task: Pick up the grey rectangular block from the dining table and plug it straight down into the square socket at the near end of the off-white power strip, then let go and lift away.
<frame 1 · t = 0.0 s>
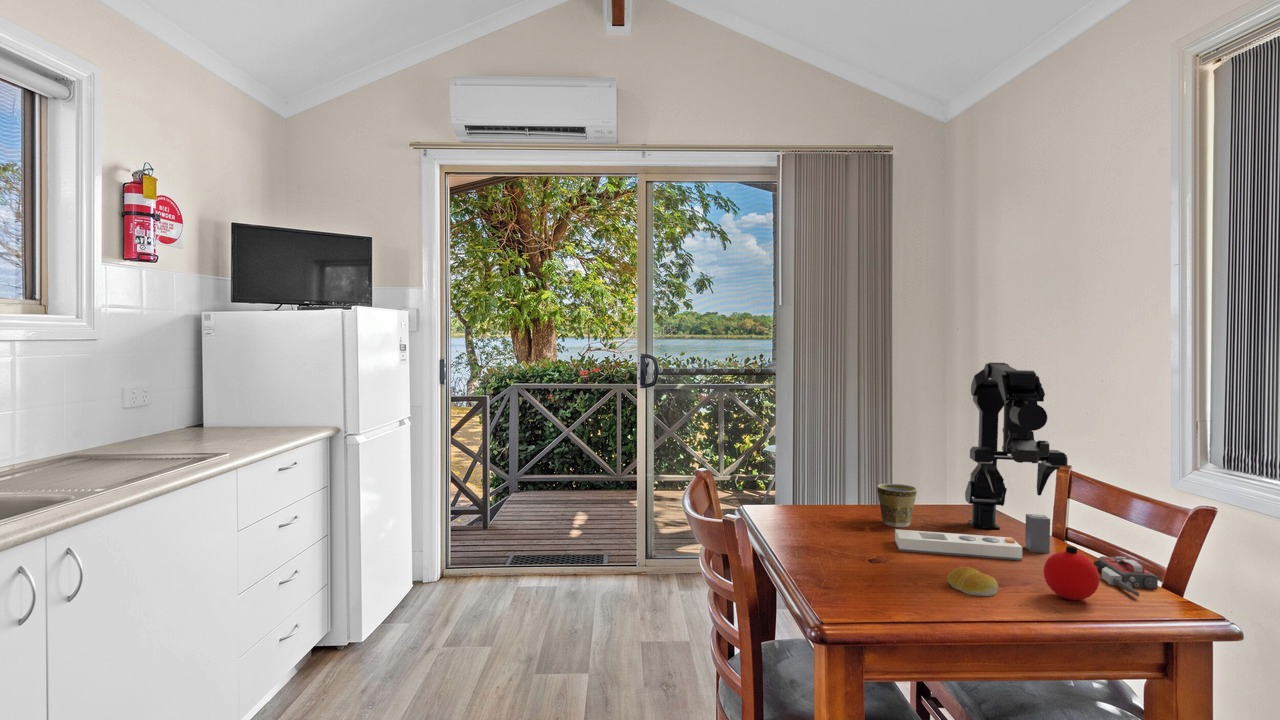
hand: (1016, 493, 153), 15 cm above the table, fingers open, 9 cm apart
ceramic cup: (894, 523, 183), on the table
grey rectangular block: (1037, 550, 159), on the table
bread roll: (972, 590, 133), on the table
power strip: (955, 550, 158), on the table
walkie-talkie: (1128, 585, 137), on the table
ornament: (1070, 599, 128), on the table
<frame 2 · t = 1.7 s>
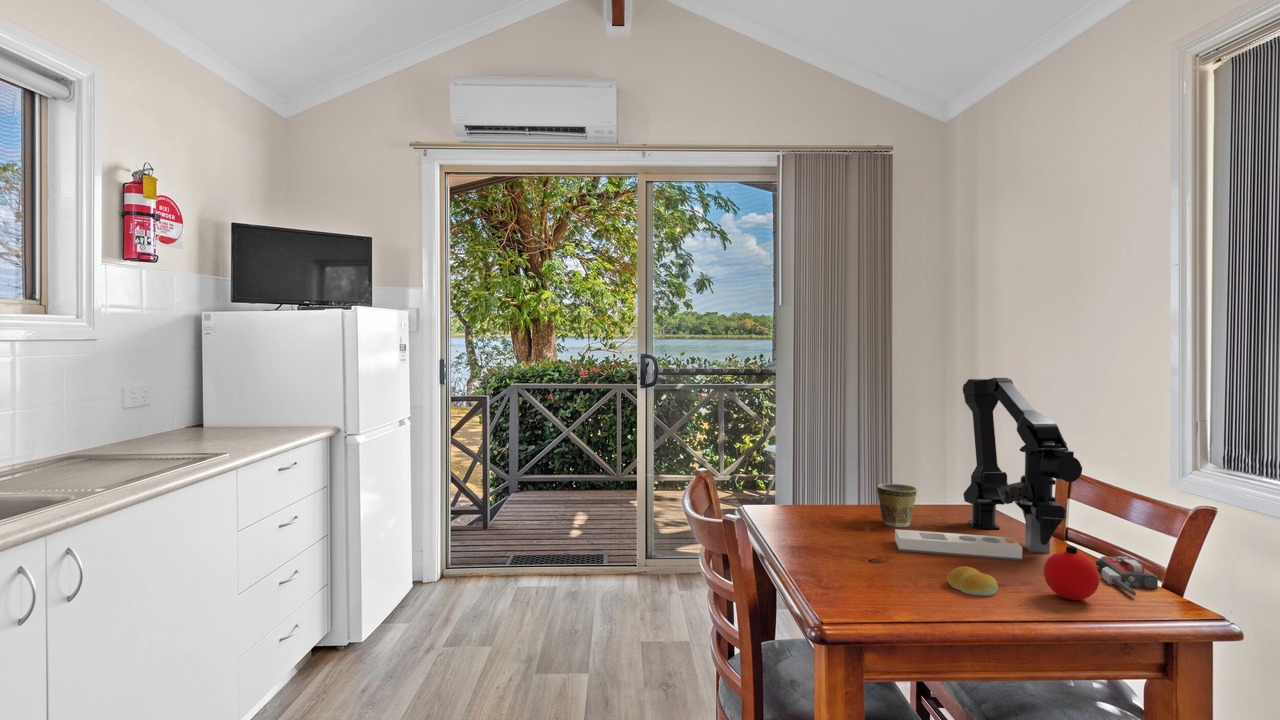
hand: (1037, 539, 159), 3 cm above the table, fingers open, 9 cm apart
nothing on the table moved.
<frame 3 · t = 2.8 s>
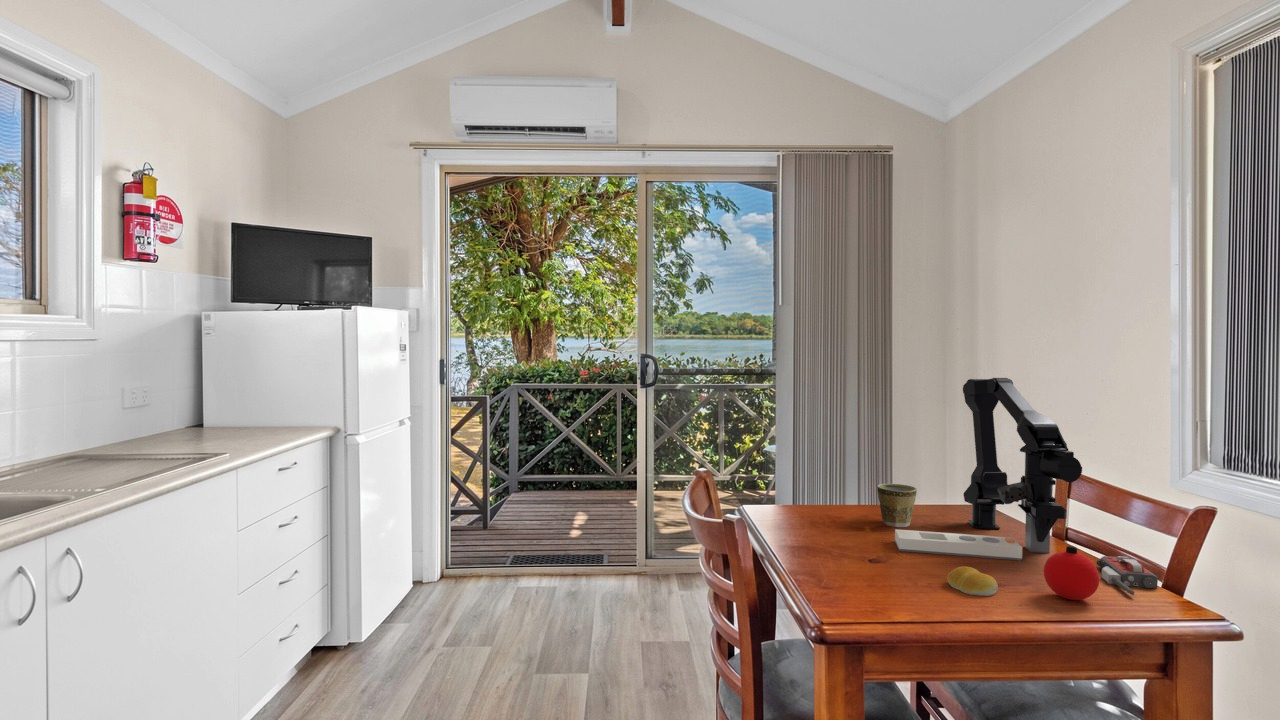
hand: (1037, 539, 159), 3 cm above the table, fingers closed on grey rectangular block, 4 cm apart
grey rectangular block: (1037, 550, 159), on the table, touching gripper
everything else where it was.
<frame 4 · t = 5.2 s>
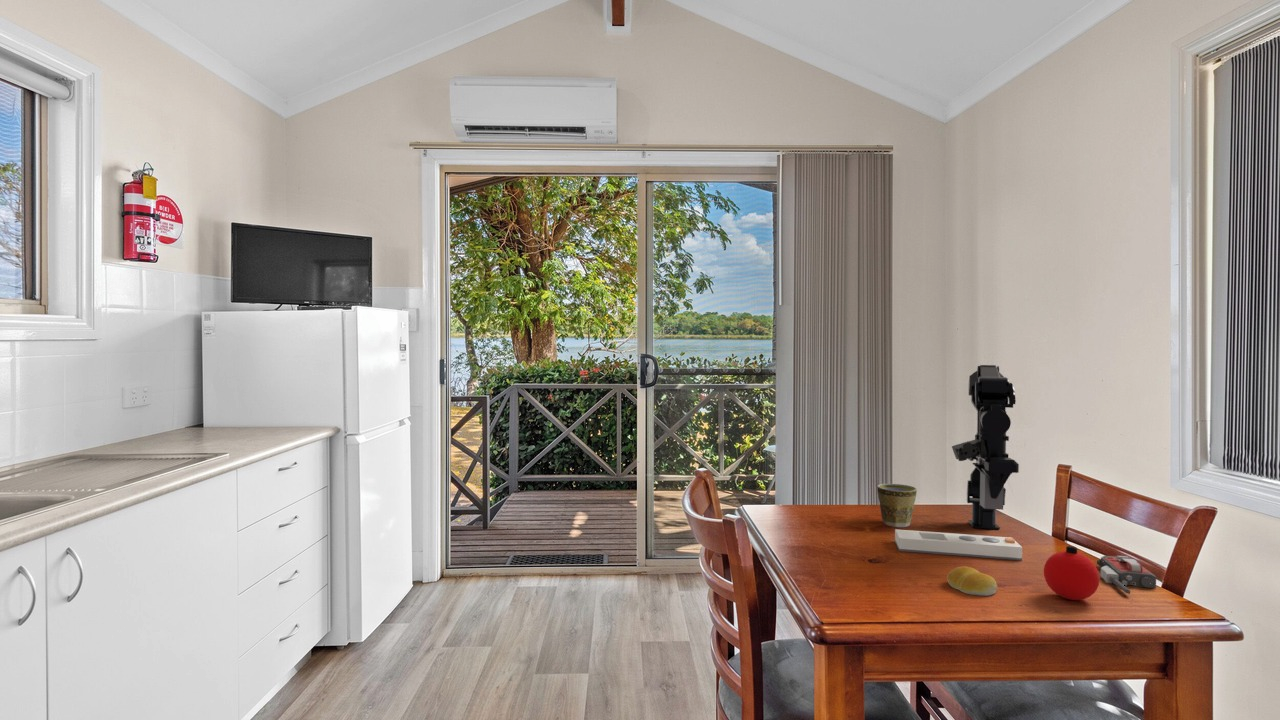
hand: (991, 496, 159), 13 cm above the table, fingers closed on grey rectangular block, 4 cm apart
grey rectangular block: (991, 507, 159), point 10 cm above the table, touching gripper
everything else where it was.
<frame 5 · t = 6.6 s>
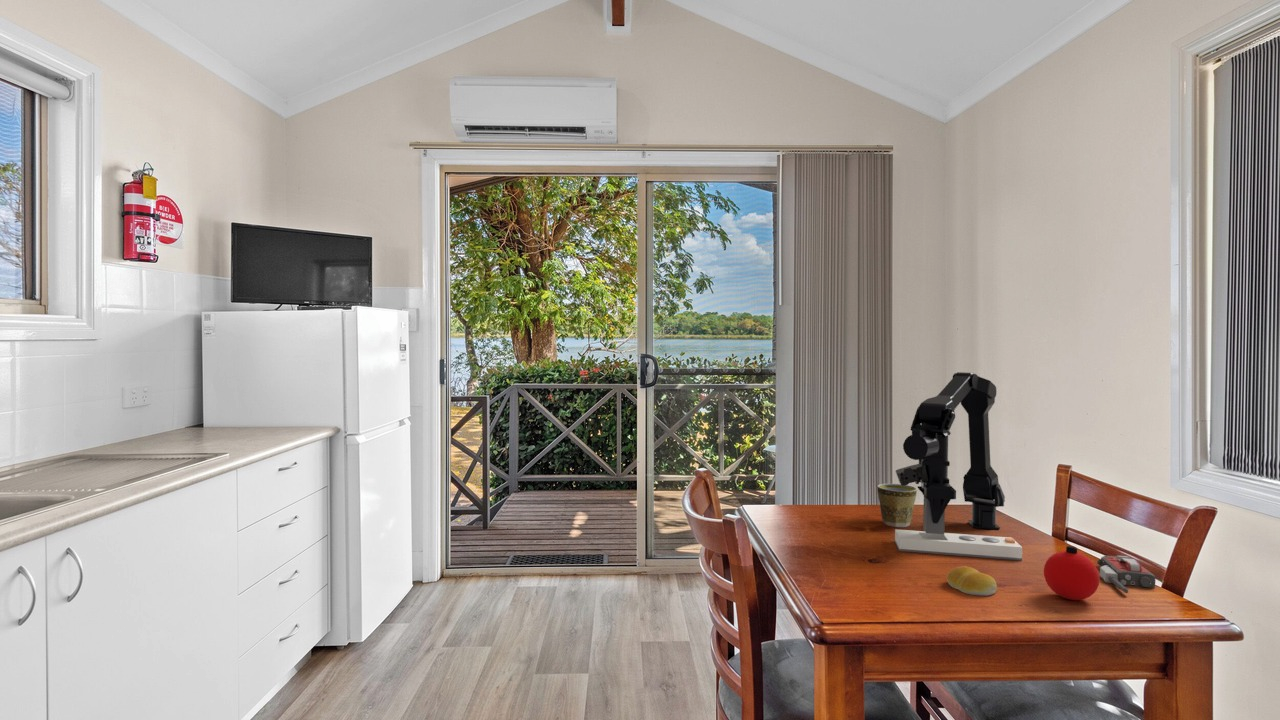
hand: (933, 520, 159), 7 cm above the table, fingers closed on grey rectangular block, 4 cm apart
grey rectangular block: (933, 531, 159), point 4 cm above the table, touching gripper
everything else where it was.
when the fingers open (4 cm above the table, at t = 7.9 s): grey rectangular block stays where it is, resting on power strip.
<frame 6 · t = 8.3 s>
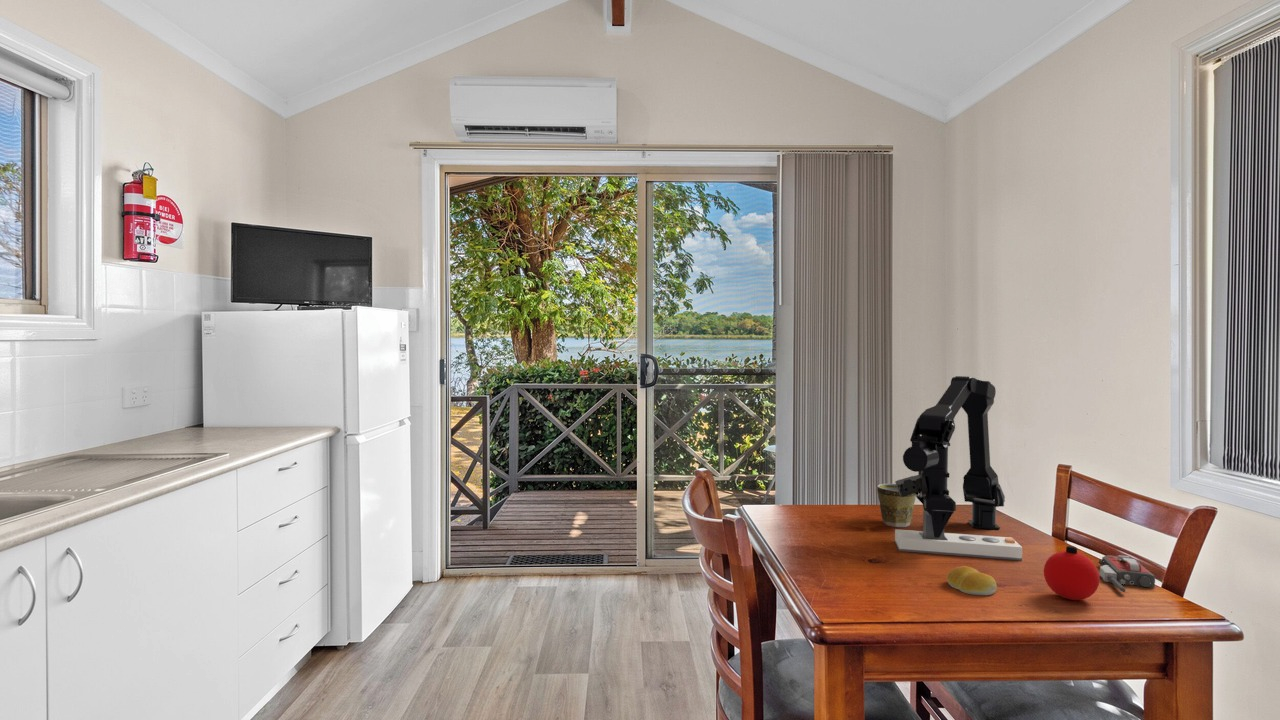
hand: (933, 532, 159), 4 cm above the table, fingers open, 9 cm apart
grey rectangular block: (933, 546, 159), resting on power strip
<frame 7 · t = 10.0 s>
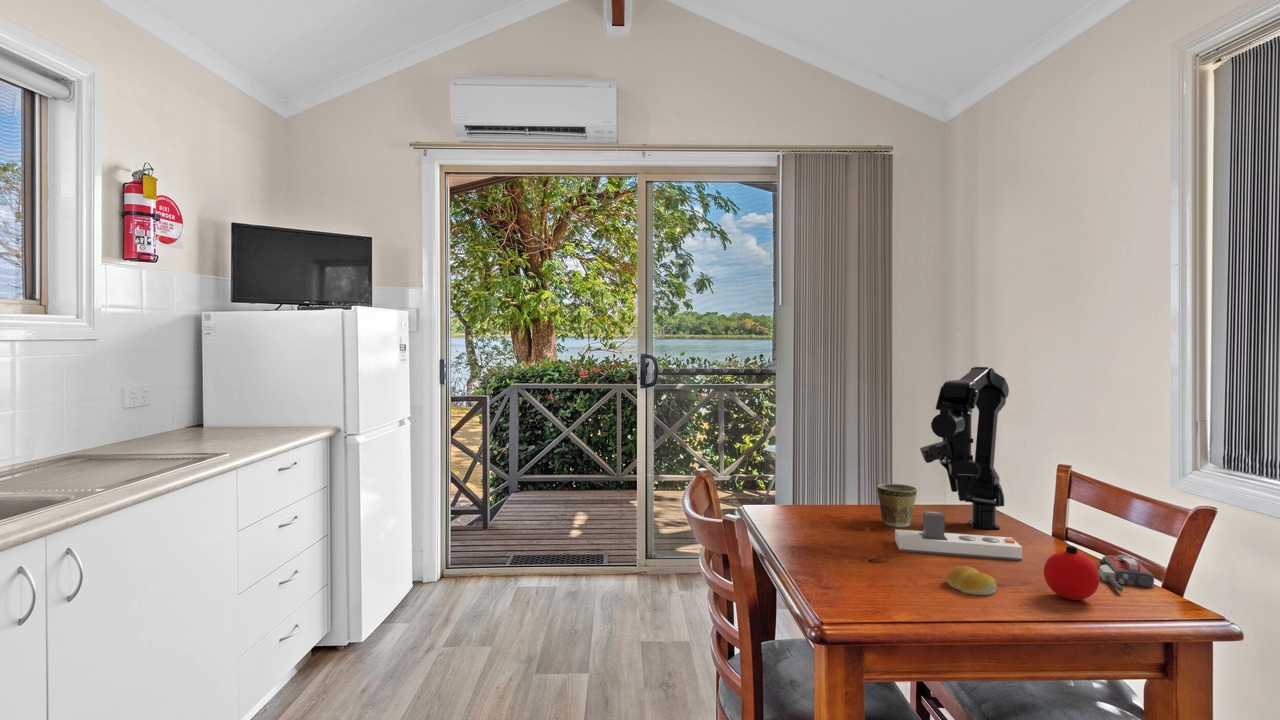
hand: (957, 496, 165), 11 cm above the table, fingers open, 9 cm apart
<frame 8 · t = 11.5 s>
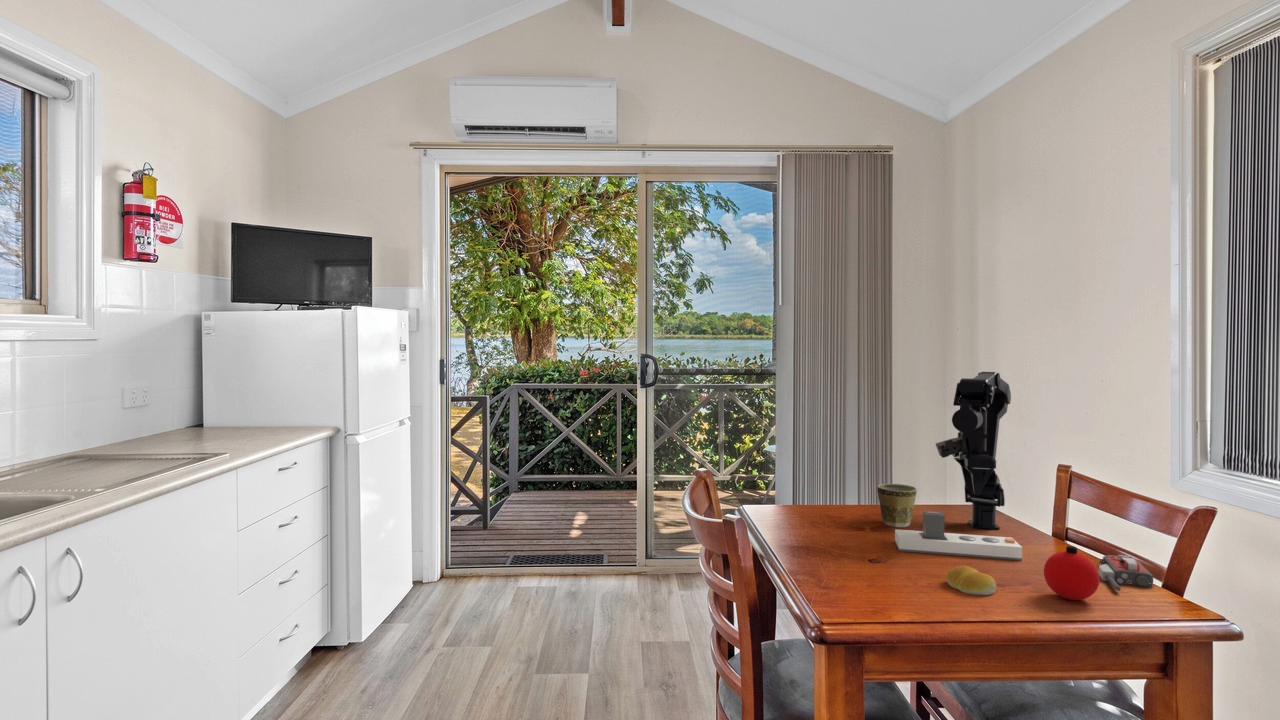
hand: (972, 490, 168), 12 cm above the table, fingers open, 9 cm apart
at the end: grey rectangular block 0.1 cm from the target spot on the power strip, point 0.5 cm above the power strip's base; grey rectangular block tilted 0°; the gripper is holding nothing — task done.
